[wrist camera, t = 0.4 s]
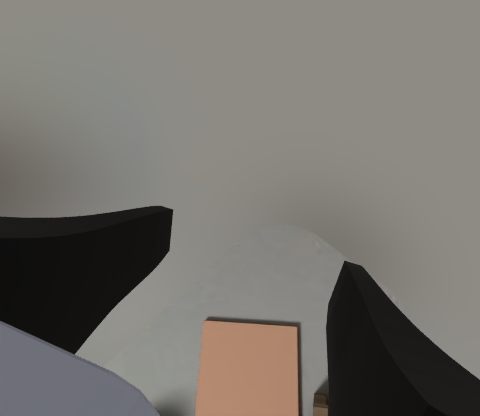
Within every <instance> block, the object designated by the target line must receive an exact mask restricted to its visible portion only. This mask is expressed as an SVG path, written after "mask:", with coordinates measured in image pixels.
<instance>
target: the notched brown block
mask: <svg viewBox="0 0 480 416" xmlns="http://www.w3.org/2000/svg"><path fill="white" fill-rule="evenodd" d="M313 416H328V405H326V395H322V394H314V402H313Z"/></svg>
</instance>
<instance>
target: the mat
mask: <svg viewBox="0 0 480 416" xmlns="http://www.w3.org/2000/svg"><path fill="white" fill-rule="evenodd" d="M195 416H299V401H298V338H297V327H293V326H279V325H264V324H249V323H235V322H220V321H203V332H202V343H201V354H200V365H199V376H198V386H197V397H196V408H195Z"/></svg>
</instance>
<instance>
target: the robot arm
mask: <svg viewBox="0 0 480 416" xmlns="http://www.w3.org/2000/svg"><path fill="white" fill-rule="evenodd" d="M172 215H173V209H169V208H166V207H163V206H150V207H143V208H136V209H130V210H123V211H118V212H110V213H103V214H96V215H87V216H77V217H61V218H17V217H0V416H160V415H159V413H158V412H157V411H156V410H155V408H154V407H153V406H152V404H151V403H150V402H149V401H148V399H147V398H146V397H145V395H144V394H143V393H142V392H141V390H139V389H138V388H136V387H135V386H133V385H132V384H130V383H129V382H127V381H126V380H124V379H123V378H121V377H120V376H118V375H117V374H115V373H114V372H112V371H109V370H107V369H105V368H103V367H100V366H98V365H96V364H94V363H92V362H90V361H87V360H85V359H83V358H81V357H79V356H76V355H75V353H76V352H77V351H78V350H79V348H80V347H81V346H82V345H83V343H84V342H85V341H86V340H87V338H88V337H89V336H90V335H91V334H92V332H93V331H94V330H95V329H96V328H97V326H98V325H99V324H100V323H101V322H102V321H103V319H104V318H105V317H106V316H107V315H108V314H109V312H110V311H111V310H112V309H113V308H114V307H115V306H116V305H117V304H118V303H119V302H120V301H121V300H122V299H123V298H124V297H125V296H127V295H128V294H129V293H130V292H131V291H132V290H133V289H134V288H135V287H136V286H137V285H138V284H139V283H140V282H142V281H143V280H144V279H145V278H146V277H147V276H148V275H149V274H150V273H151V272H152V271H153V270H154V269H155V268H156V267H157V266H158V265H159V263H160V262H161V261H162V260H163V258H164V257H165V256H166V254H167V253H168V252H169V249H170V237H171V226H172ZM326 335H327V358H328V381H329V401H328V416H480V380H479V379H478V378H477V377H475V376H474V375H472V374H471V373H470V372H469V371H467V370H466V369H465V368H463V367H462V366H461V365H459V364H458V363H457V362H456V361H455V360H453V359H452V358H451V357H450V356H448V355H447V354H446V353H445V352H443V351H442V350H441V349H440V348H439V347H438V346H436V345H435V344H434V343H433V342H432V341H431V340H430V339H429V338H428V337H426V336H425V335H424V334H423V333H422V332H421V331H420V330H419V329H418V328H417V327H416V326H415V325H414V324H413V323H412V322H411V321H410V320H409V319H408V318H407V317H406V316H405V315H404V314H403V313H402V312H401V311H400V310H399V309H398V308H397V307H396V306H395V304H394V303H393V302H392V301H391V300H390V299H389V298H388V296H387V295H386V294H385V293H384V292H383V291H382V289H381V288H380V287H379V286H378V285H377V283H376V282H375V281H374V280H373V278H372V277H371V276H370V275H369V274H368V272H367V271H366V270H365V269H364V268H363V267H362V266H360V265H357V264H354V263H350V262H347V261H344V264H343V266H342V269H341V272H340V274H339V277H338V280H337V282H336V285H335V288H334V290H333V293H332V296H331V298H330V301H329V304H328V313H327V324H326Z"/></svg>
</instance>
